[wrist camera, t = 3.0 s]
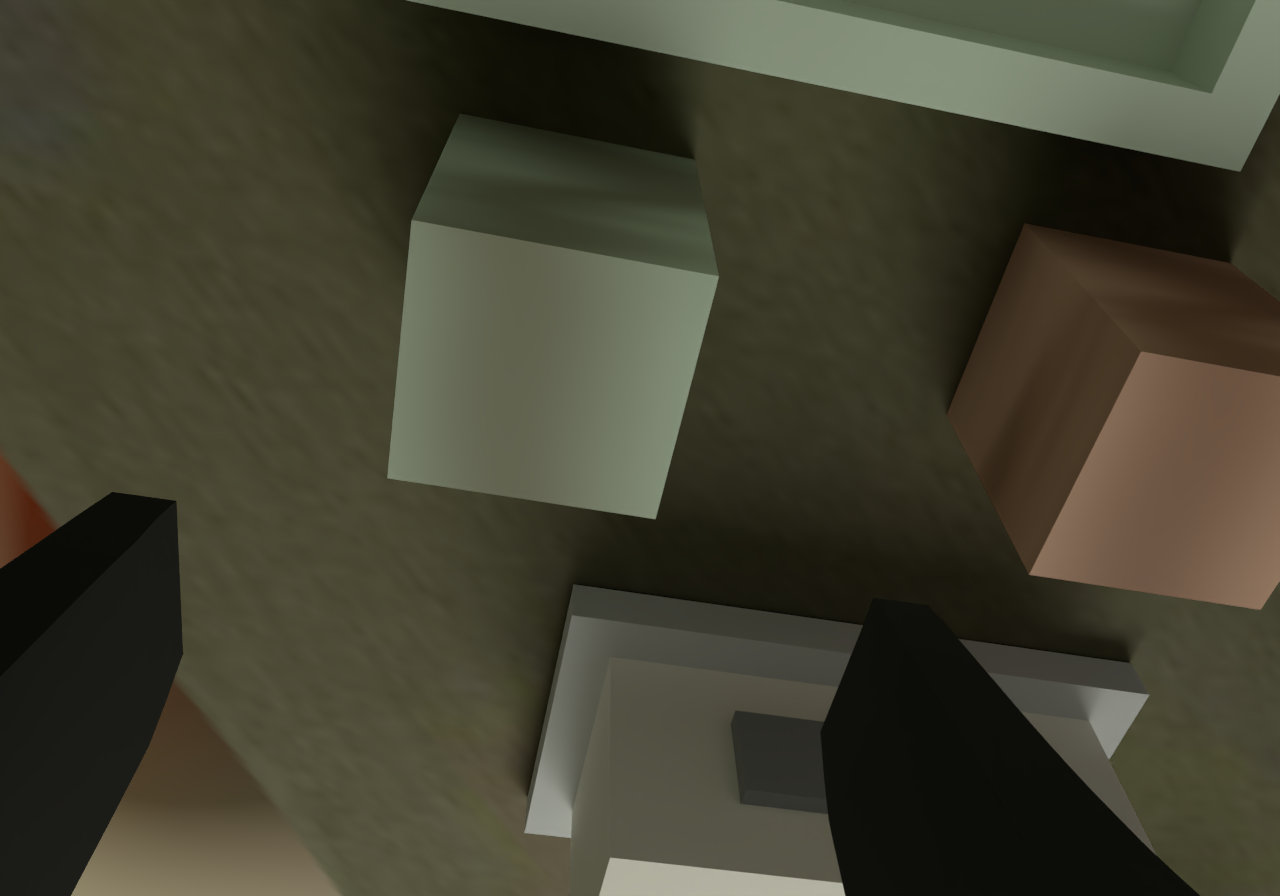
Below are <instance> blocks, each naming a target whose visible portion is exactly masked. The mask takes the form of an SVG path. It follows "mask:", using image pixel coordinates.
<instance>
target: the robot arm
mask: <svg viewBox="0 0 1280 896" xmlns="http://www.w3.org/2000/svg"><path fill="white" fill-rule="evenodd" d="M182 655H183V645H182V622H181V599H180V575H179V552H178V529H177V506H176V501H173V500H166V499H159V498H151V497H144V496H137V495H130V494H123V493H115V492H112V493H110V494H109V495H107V496H106V497H104V498H103V499H101V500H100V501H98V502H97V503H95V504H94V505H92V506H91V507H89V508H88V509H86V510H85V511H83V512H82V513H80V514H79V515H77V516H76V517H74V518H73V519H72V520H70V521H69V522H67V523H66V524H64V525H63V526H61V527H60V528H58V529H57V530H56V531H54V532H53V533H51V534H50V535H48V536H47V537H46V538H44V539H43V540H41V541H40V542H38V543H37V544H35V545H34V546H33V547H31V548H30V549H28V550H27V551H25V552H24V553H22V554H21V555H20V556H18V557H17V558H15V559H14V560H12V561H11V562H9V563H8V564H6V565H5V566H4V567H2V568H1V569H0V896H71V894H72V892H73V890H74V889H75V887H76V885H77V883H78V881H79V879H80V877H81V875H82V873H83V871H84V870H85V868H86V866H87V864H88V861H89V860H90V858H91V856H92V854H93V852H94V850H95V849H96V847H97V845H98V843H99V841H100V839H101V837H102V835H103V833H104V832H105V830H106V828H107V826H108V824H109V822H110V820H111V818H112V816H113V814H114V812H115V810H116V808H117V807H118V805H119V803H120V801H121V799H122V797H123V795H124V793H125V791H126V789H127V787H128V785H129V783H130V782H131V780H132V778H133V776H134V774H135V772H136V770H137V768H138V766H139V764H140V762H141V760H142V758H143V756H144V754H145V752H146V750H147V748H148V746H149V744H150V741H151V739H152V736H153V734H154V731H155V729H156V726H157V723H158V721H159V718H160V716H161V713H162V710H163V708H164V705H165V702H166V700H167V697H168V694H169V691H170V688H171V686H172V683H173V680H174V677H175V674H176V672H177V669H178V666H179V663H180V660H181V658H182ZM820 735H821V747H822V759H823V771H824V783H825V792H826V801H827V810H828V819H829V825H830V829H831V834H832V839H833V843H834V848H835V852H836V857H837V861H838V866H839V870H840V875H841V879H842V884H843V888H844V893H845V896H1200V895H1199V894H1198V893H1196V892H1195V891H1194V890H1193V889H1192V888H1191V887H1190V886H1189V885H1188V884H1186V883H1185V882H1184V881H1183V880H1182V879H1181V878H1180V877H1179V876H1178V875H1176V874H1175V873H1174V872H1173V871H1172V870H1171V869H1170V868H1169V867H1168V866H1167V865H1166V864H1165V863H1164V862H1163V861H1162V860H1161V859H1160V858H1159V857H1158V856H1156V855H1155V854H1154V853H1153V852H1152V851H1151V850H1150V849H1149V848H1148V847H1147V846H1146V845H1145V844H1144V843H1143V842H1142V841H1141V840H1140V839H1139V838H1138V837H1137V836H1136V835H1135V834H1134V833H1133V832H1132V831H1131V830H1130V829H1129V828H1128V827H1127V826H1126V825H1125V824H1124V823H1123V822H1122V821H1121V820H1120V819H1119V818H1118V817H1117V816H1116V814H1115V813H1114V812H1113V811H1112V810H1111V809H1110V808H1109V807H1108V806H1107V805H1106V804H1105V803H1104V802H1103V801H1102V800H1101V799H1100V798H1099V797H1098V796H1097V795H1096V794H1095V793H1094V792H1093V791H1092V790H1091V789H1090V788H1089V787H1088V786H1087V784H1086V783H1085V782H1084V781H1083V780H1082V779H1081V778H1080V777H1079V776H1078V775H1077V774H1076V773H1075V772H1074V771H1073V769H1072V768H1071V767H1070V766H1069V765H1068V764H1067V763H1066V762H1065V761H1064V760H1063V759H1062V757H1061V756H1060V755H1059V754H1058V753H1057V752H1056V751H1055V750H1054V749H1053V748H1052V746H1051V745H1050V744H1049V743H1048V742H1047V741H1046V740H1045V739H1044V737H1043V736H1042V735H1041V734H1040V733H1039V732H1038V731H1037V730H1036V728H1035V727H1034V726H1033V725H1032V724H1031V723H1030V722H1029V720H1028V719H1027V718H1026V717H1025V716H1024V715H1023V714H1022V712H1021V711H1020V710H1019V709H1018V708H1017V707H1016V705H1015V704H1014V703H1013V702H1012V701H1011V700H1010V699H1009V697H1008V696H1007V695H1006V694H1005V693H1004V692H1003V690H1002V689H1001V688H1000V687H999V686H998V685H997V683H996V682H995V681H994V680H993V679H992V677H991V676H990V675H989V674H988V673H987V672H986V670H985V669H984V668H983V667H982V666H981V665H980V663H979V662H978V661H977V660H976V659H975V658H974V656H973V655H972V654H971V653H970V652H969V651H968V649H967V648H966V647H965V646H964V645H963V644H962V642H961V641H960V640H959V639H958V638H957V637H956V635H955V634H954V633H953V632H952V631H951V630H950V629H949V627H948V626H947V625H946V624H945V623H944V622H943V621H942V620H941V618H940V617H939V616H938V615H937V614H936V613H935V612H934V611H933V610H932V609H931V608H930V607H929V606H928V605H921V604H914V603H907V602H900V601H892V600H885V599H878V598H874V599H873V602H872V604H871V607H870V609H869V612H868V614H867V617H866V619H865V622H864V624H863V627H862V629H861V632H860V634H859V637H858V639H857V642H856V644H855V647H854V649H853V651H852V654H851V656H850V659H849V661H848V664H847V666H846V669H845V671H844V674H843V676H842V679H841V681H840V684H839V686H838V689H837V691H836V694H835V696H834V699H833V701H832V704H831V706H830V709H829V711H828V714H827V716H826V719H825V721H824V724H823V726H822V729H821V731H820Z"/></svg>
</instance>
